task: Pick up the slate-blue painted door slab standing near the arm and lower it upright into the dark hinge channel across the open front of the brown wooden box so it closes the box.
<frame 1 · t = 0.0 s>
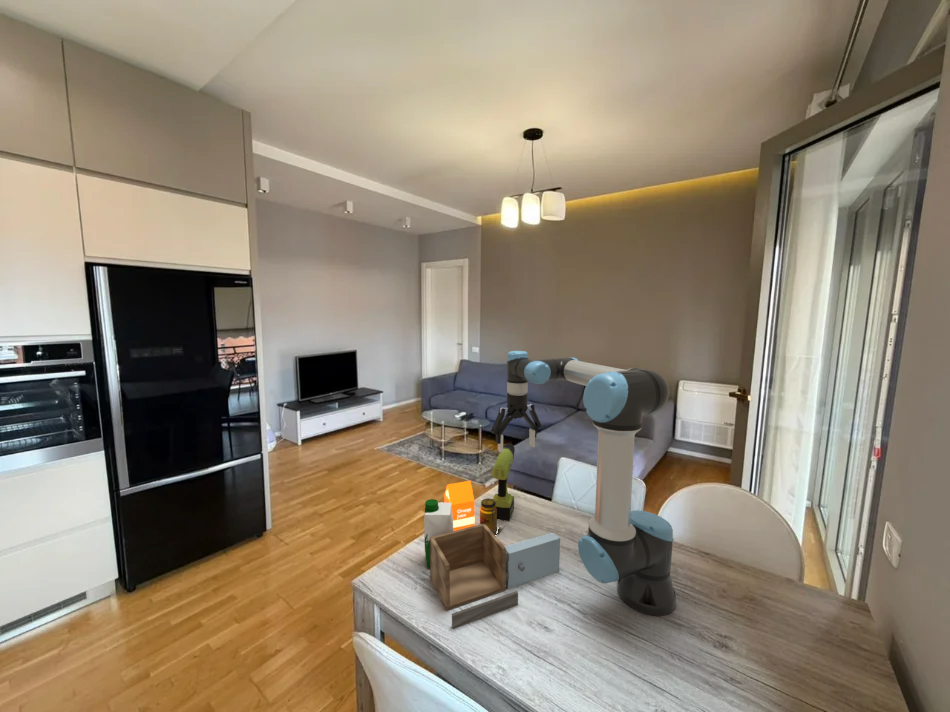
hand: (516, 448, 144), 28 cm above the table, fingers open, 13 cm apart
milk carton: (439, 561, 123), on the table
brown wooden box: (467, 583, 113), on the table
door: (531, 576, 116), on the table
cordless drill: (505, 508, 156), on the table
condiment: (489, 532, 139), on the table
orange juice: (459, 536, 137), on the table
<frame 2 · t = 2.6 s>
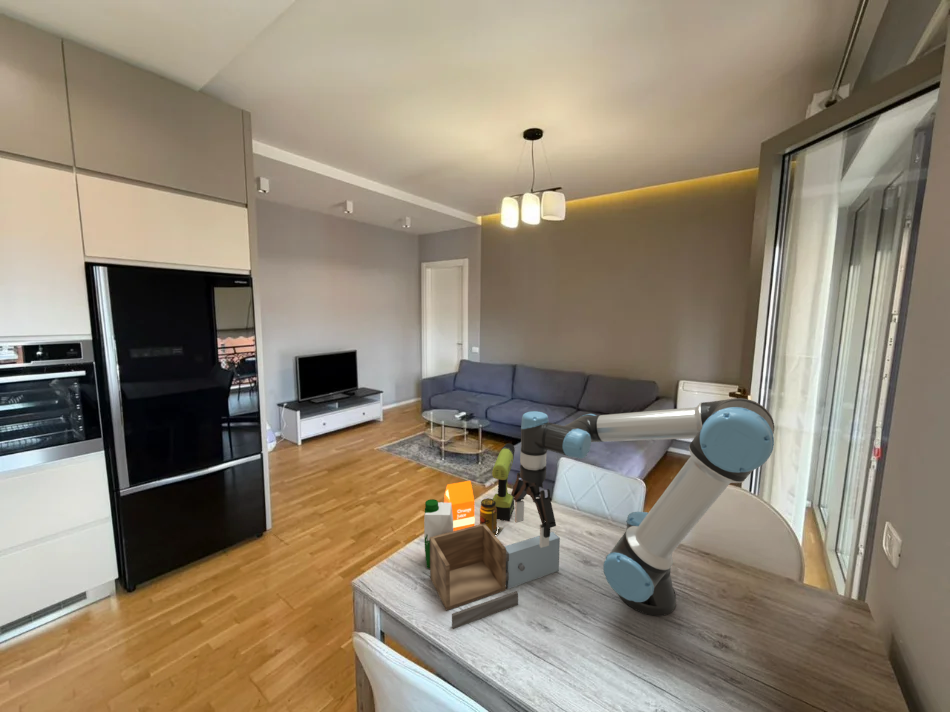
hand: (531, 533, 115), 14 cm above the table, fingers open, 13 cm apart
nothing on the table moved.
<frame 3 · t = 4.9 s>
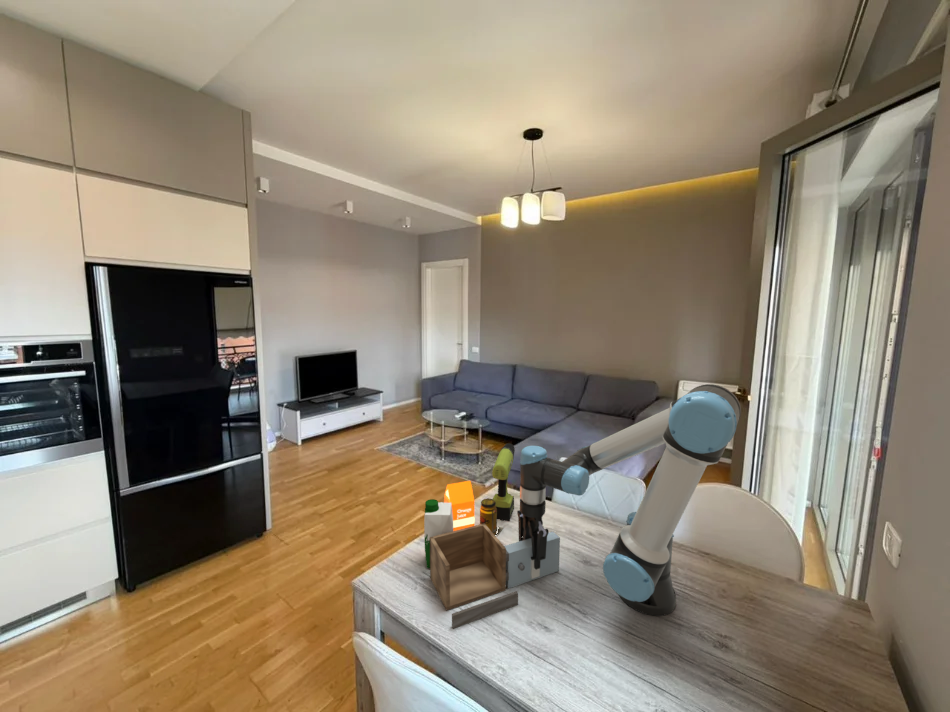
hand: (531, 572, 116), 1 cm above the table, fingers closed on door, 3 cm apart
door: (531, 575, 116), on the table, touching gripper
everything else where it was.
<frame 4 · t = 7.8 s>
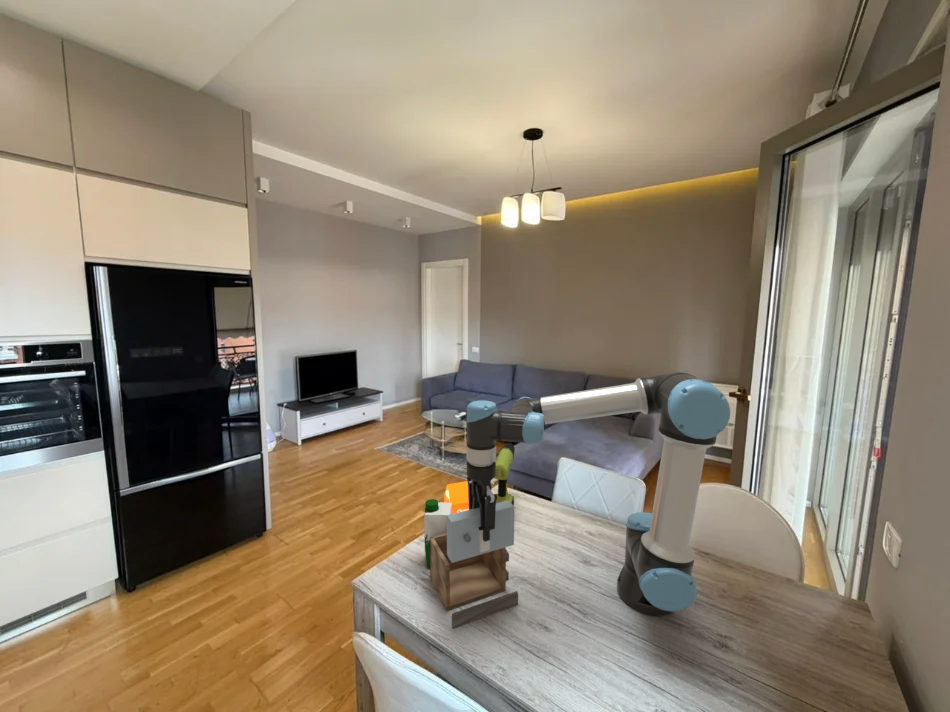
hand: (481, 545, 102), 18 cm above the table, fingers closed on door, 3 cm apart
door: (481, 549, 102), point 17 cm above the table, touching gripper
everything else where it was.
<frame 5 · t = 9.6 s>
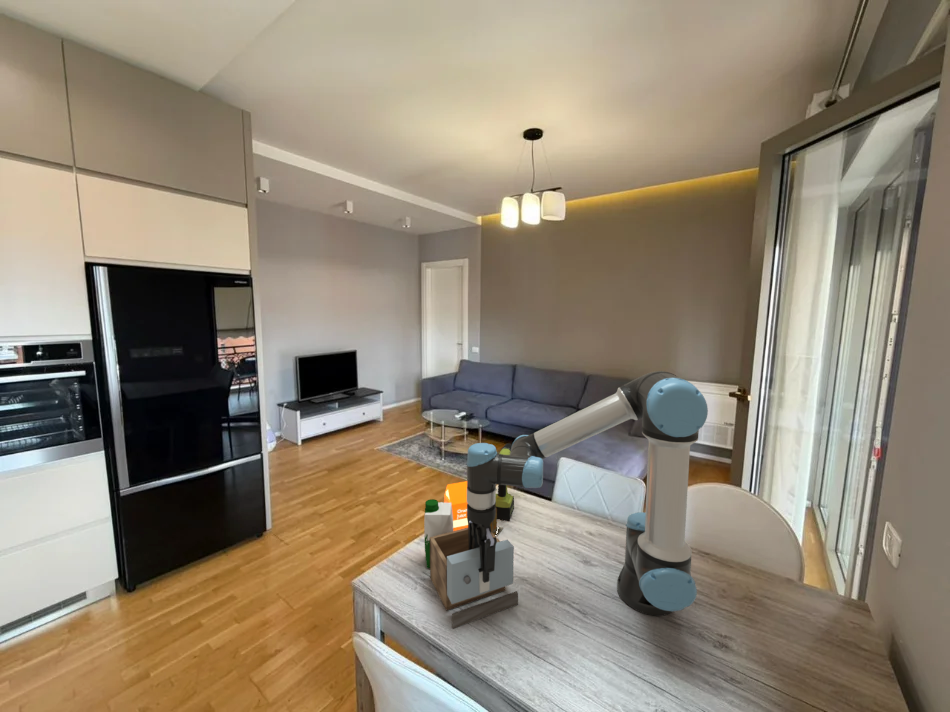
hand: (480, 585, 103), 6 cm above the table, fingers closed on door, 3 cm apart
door: (480, 589, 104), point 5 cm above the table, touching gripper
everything else where it was.
when the fingers open (3 cm above the table, at t = 11.0 s): door drops 2 cm, on the table.
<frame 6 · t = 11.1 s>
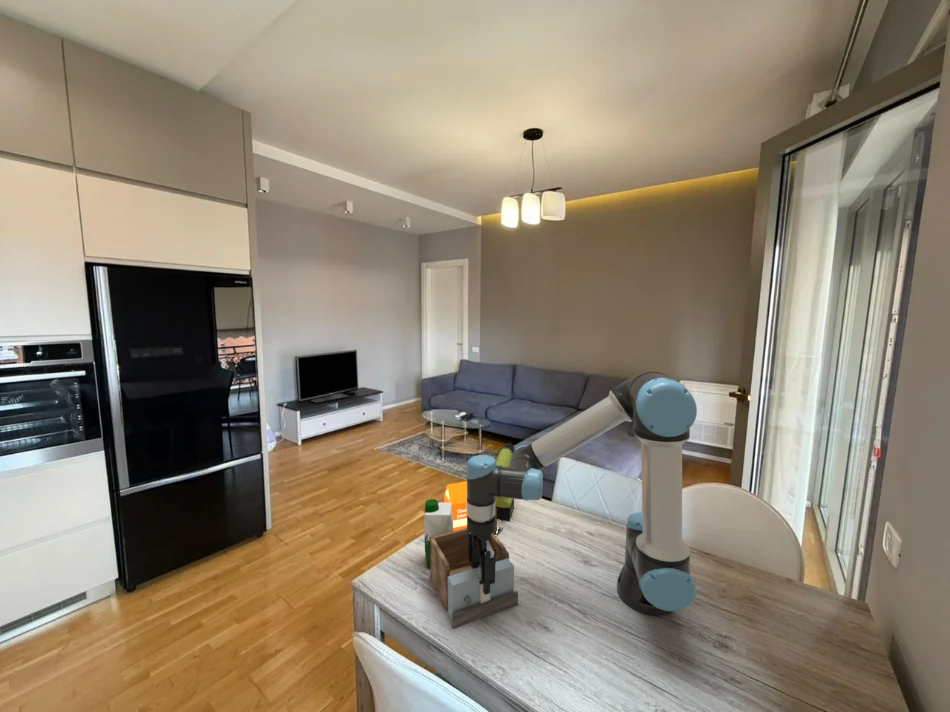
hand: (481, 596, 104), 3 cm above the table, fingers open, 4 cm apart
door: (481, 608, 104), on the table
everything else where it was.
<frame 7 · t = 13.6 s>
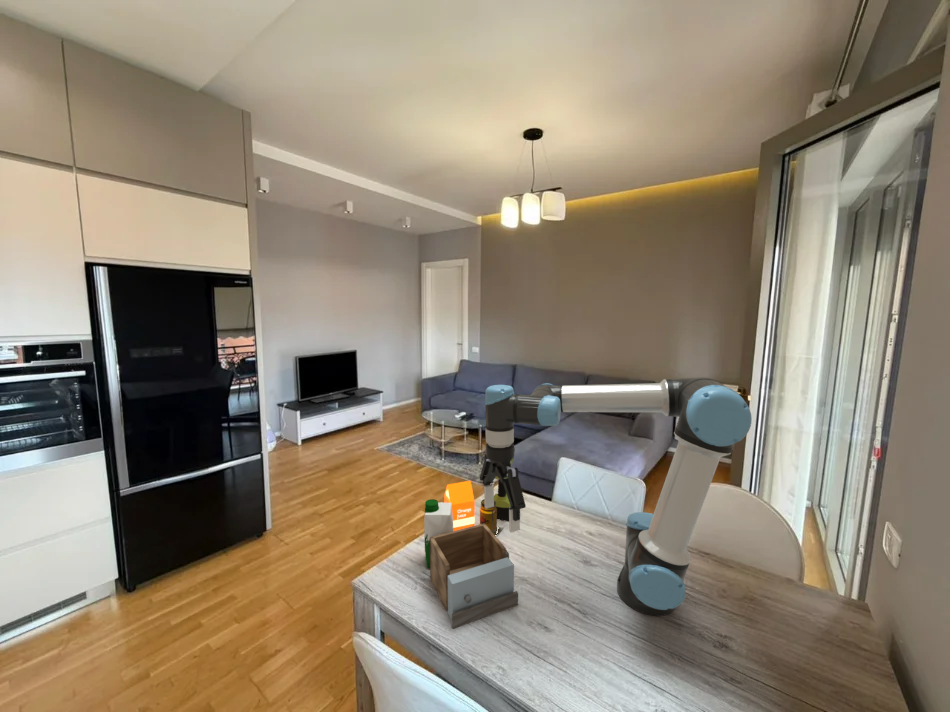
hand: (501, 518, 105), 23 cm above the table, fingers open, 13 cm apart
nothing on the table moved.
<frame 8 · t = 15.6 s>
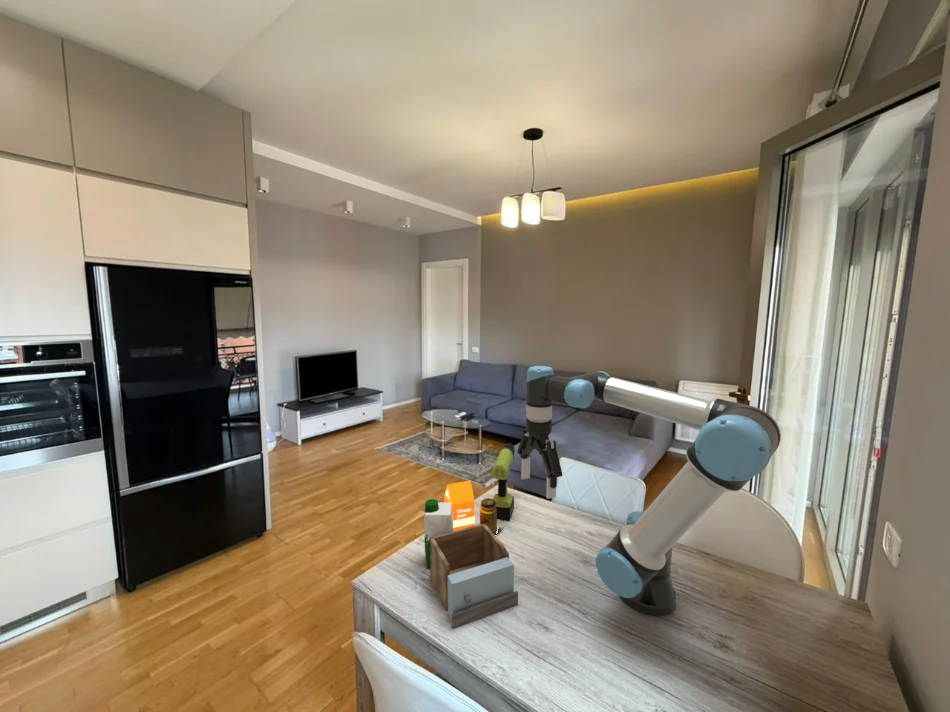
hand: (537, 487, 116), 27 cm above the table, fingers open, 13 cm apart
nothing on the table moved.
at the end: door inside the target area on the brown wooden box (0.1 cm from its centre), point 0.0 cm above the brown wooden box's base; door tilted 0°; the gripper is holding nothing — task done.
